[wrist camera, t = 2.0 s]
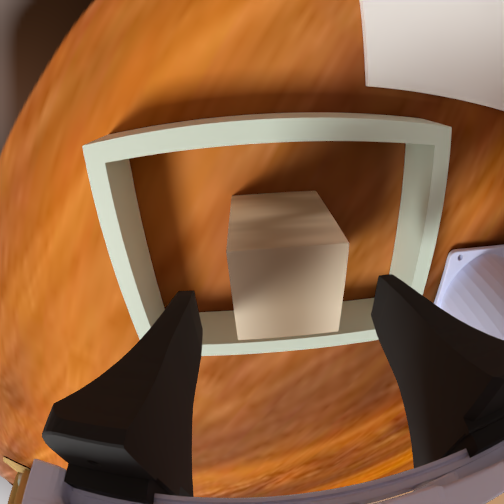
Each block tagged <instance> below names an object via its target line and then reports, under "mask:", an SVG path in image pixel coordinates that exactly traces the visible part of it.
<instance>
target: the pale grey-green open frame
mask: <svg viewBox="0 0 504 504" xmlns="http://www.w3.org/2000/svg"><path fill="white" fill-rule="evenodd" d="M451 133H452V127H450V126H447V125H443V124H440V123H436V122H433V121H429V120H426V119H422V118H414V117H404V116H393V115H380V114H364V113H337V112H294V113H267V114H250V115H236V116H225V117H215V118H206V119H197V120H189V121H182V122H175V123H168V124H162V125H156V126H150V127H144V128H139V129H133V130H128V131H123V132H118V133H114V134H109V135H106V136H104V137H101V138H99V139H97V140H94V141H92V142H90V143H87V144H85V145H83V146H82V147H83V152H84V157H85V162H86V167H87V172H88V177H89V181H90V185H91V190H92V194H93V198H94V202H95V206H96V210H97V214H98V218H99V221H100V225H101V229H102V232H103V236H104V239H105V242H106V246H107V249H108V252H109V256H110V259H111V262H112V265H113V268H114V271H115V274H116V277H117V280H118V283H119V286H120V289H121V292H122V294H123V297H124V300H125V303H126V305H127V308H128V311H129V313H130V316H131V319H132V321H133V324H134V326H135V329H136V331H137V334H138V336H139V339H141V338H142V337H143V336H144V335H145V334H146V333H147V331H148V330H149V329H150V328H151V327H152V325H153V324H154V323H155V322H156V320H157V319H158V318H159V317H160V315H161V314H162V313H163V311H164V310H165V308H164V305H163V301H162V298H161V294H160V291H159V287H158V284H157V280H156V277H155V273H154V269H153V265H152V262H151V258H150V254H149V250H148V246H147V242H146V237H145V233H144V229H143V225H142V220H141V216H140V211H139V207H138V202H137V197H136V192H135V187H134V182H133V177H132V172H131V166H130V161H129V158H135V157H141V156H147V155H154V154H161V153H168V152H175V151H183V150H191V149H200V148H209V147H219V146H230V145H242V144H257V143H274V142H299V141H370V142H394V143H406V148H405V163H404V175H403V185H402V195H401V203H400V211H399V219H398V226H397V233H396V239H395V245H394V251H393V257H392V262H391V268H390V273H389V275H390V274H393V275H394V276H396V277H397V278H399V279H400V280H402V281H403V282H405V283H406V284H407V285H409V286H410V287H411V288H413V289H414V290H416V291H417V292H418V293H420V294H421V295H423V291H424V288H425V284H426V281H427V277H428V273H429V269H430V265H431V261H432V257H433V253H434V249H435V244H436V240H437V235H438V230H439V225H440V220H441V214H442V209H443V203H444V197H445V190H446V183H447V175H448V167H449V157H450V147H451ZM373 303H374V298H368V299H360V300H351V301H343V302H342V309H341V316H340V323H339V330H338V331H337V332H328V333H319V334H310V335H300V336H289V337H277V338H264V339H249V340H238V336H237V329H236V322H235V315H234V310H233V311H215V312H199V315H200V320H201V324H202V328H203V338H202V354H201V356H213V355H237V354H255V353H269V352H282V351H293V350H303V349H313V348H322V347H330V346H338V345H345V344H353V343H360V342H366V341H373V340H379V339H378V337H377V334H376V330H375V327H374V324H373V320H372V317H371V312H372V307H373Z"/></svg>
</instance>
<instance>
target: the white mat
mask: <svg viewBox="0 0 504 504" xmlns="http://www.w3.org/2000/svg"><path fill="white" fill-rule="evenodd" d="M360 8H361V18H362V29H363V42H364V58H365V82H366V86H370V87H381V88H390V89H399V90H406V91H413V92H420V93H426V94H432V95H438V96H443V97H448V98H453V99H458V100H463V101H467V102H471V103H476V104H480V105H484V106H487V107H491V108H495V109H498V110H502V111H504V0H360Z"/></svg>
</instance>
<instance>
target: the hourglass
mask: <svg viewBox="0 0 504 504" xmlns="http://www.w3.org/2000/svg"><path fill="white" fill-rule="evenodd" d="M3 461H4V462H5V463H7V464H8V465H9V466H10V467H12V468H13V469H14V470H15V471H17V472H18V473H17V475H16V478H15V481H14V484H13V487H12V490H11V494H10V497H9V501H8V504H22V500H23V496H24V492H25V488H26V485H27V481H28V478H29V474H30V471H31V470H30V469H29V468H26V467H24V466H22V465H19V464H17V463H15V462H13V461H11V460H9V459H7V458H5V457H3Z"/></svg>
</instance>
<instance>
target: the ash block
mask: <svg viewBox="0 0 504 504" xmlns="http://www.w3.org/2000/svg"><path fill="white" fill-rule="evenodd" d="M348 250H349V242H348V240H347V238H346V237H345V235H344V234H343V232H342V230H341V229H340V227H339V226H338V224H337V222H336V221H335V219H334V218H333V216H332V215H331V213H330V212H329V210H328V208H327V207H326V205H325V204H324V202H323V201H322V199H321V198H320V196H319V195H318V193H317V192H316V191H298V192H279V193H263V194H249V195H236V196H232V198H231V208H230V218H229V229H228V239H227V250H226V253H227V261H228V269H229V277H230V284H231V292H232V300H233V307H234V315H235V322H236V329H237V336H238V340H249V339H264V338H277V337H289V336H300V335H310V334H319V333H328V332H337V331H338V330H339V323H340V316H341V309H342V302H343V295H344V287H345V278H346V270H347V260H348Z"/></svg>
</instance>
